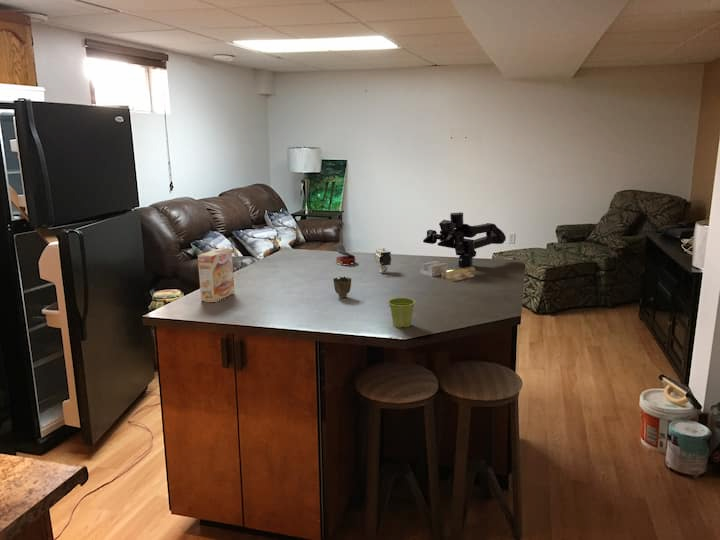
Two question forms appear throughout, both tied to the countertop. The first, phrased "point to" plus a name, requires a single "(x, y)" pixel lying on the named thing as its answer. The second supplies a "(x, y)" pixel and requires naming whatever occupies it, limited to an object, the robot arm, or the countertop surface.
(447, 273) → the axle
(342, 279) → the cup
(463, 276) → the beam
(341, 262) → the canned food
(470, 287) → the countertop surface
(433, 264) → the cradle
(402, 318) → the plant pot
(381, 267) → the pneumatic valve
